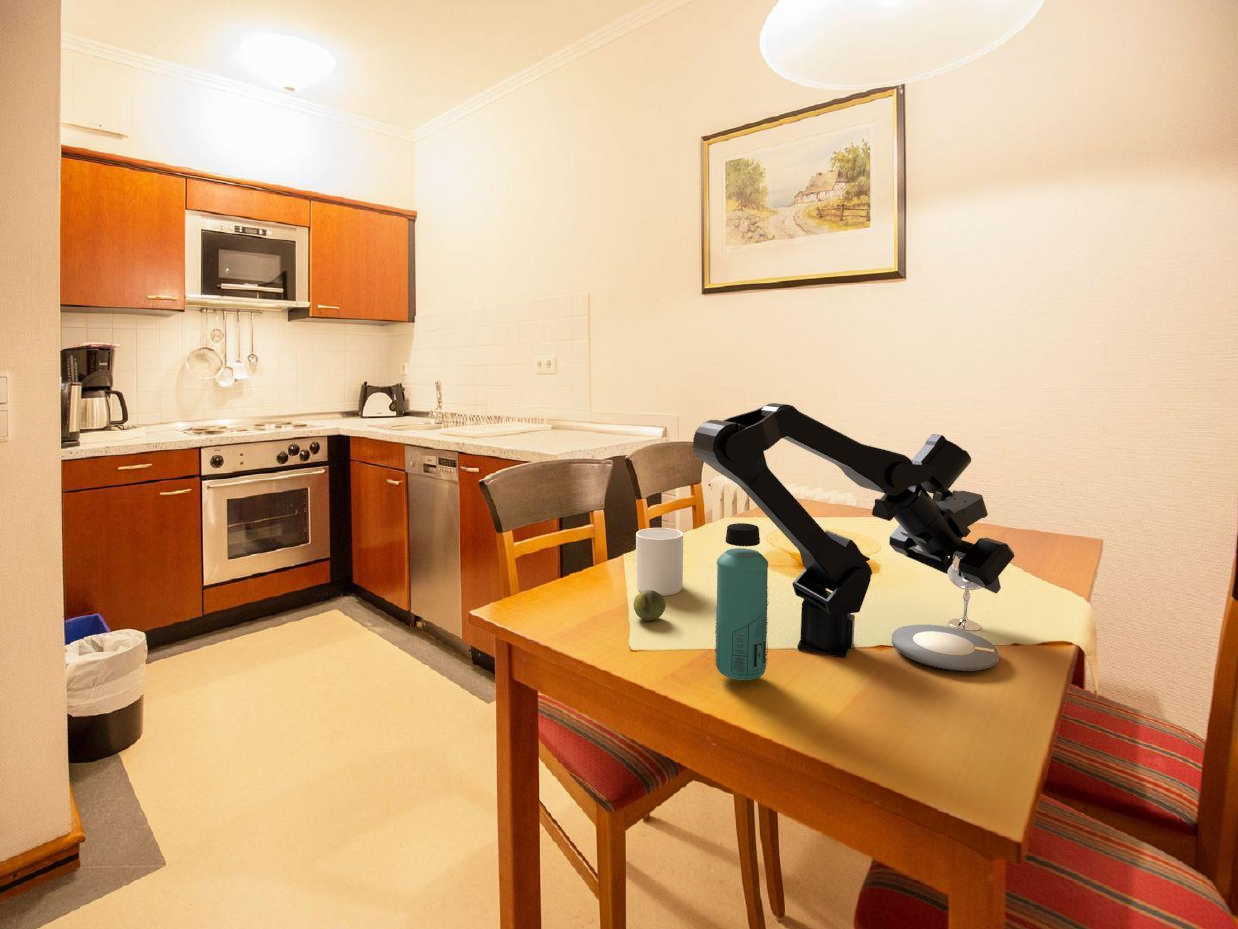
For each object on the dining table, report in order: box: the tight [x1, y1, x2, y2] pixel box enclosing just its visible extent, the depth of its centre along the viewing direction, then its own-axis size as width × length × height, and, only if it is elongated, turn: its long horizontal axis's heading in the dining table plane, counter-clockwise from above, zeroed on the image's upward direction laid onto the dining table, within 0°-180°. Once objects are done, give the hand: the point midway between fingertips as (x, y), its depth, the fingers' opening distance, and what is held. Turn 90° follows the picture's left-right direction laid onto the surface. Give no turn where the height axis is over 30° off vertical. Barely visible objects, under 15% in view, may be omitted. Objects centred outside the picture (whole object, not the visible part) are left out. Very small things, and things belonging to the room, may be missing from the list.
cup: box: [635, 527, 684, 597], centre depth 117 cm, size 8×12×10 cm
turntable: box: [891, 624, 999, 672], centre depth 89 cm, size 13×13×1 cm
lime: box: [633, 590, 667, 622], centre depth 101 cm, size 4×5×5 cm
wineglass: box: [946, 554, 984, 632], centre depth 98 cm, size 6×6×12 cm
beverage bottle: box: [714, 522, 770, 681], centre depth 81 cm, size 6×7×20 cm
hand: (975, 582), depth 98 cm, fingers open, 8 cm apart
